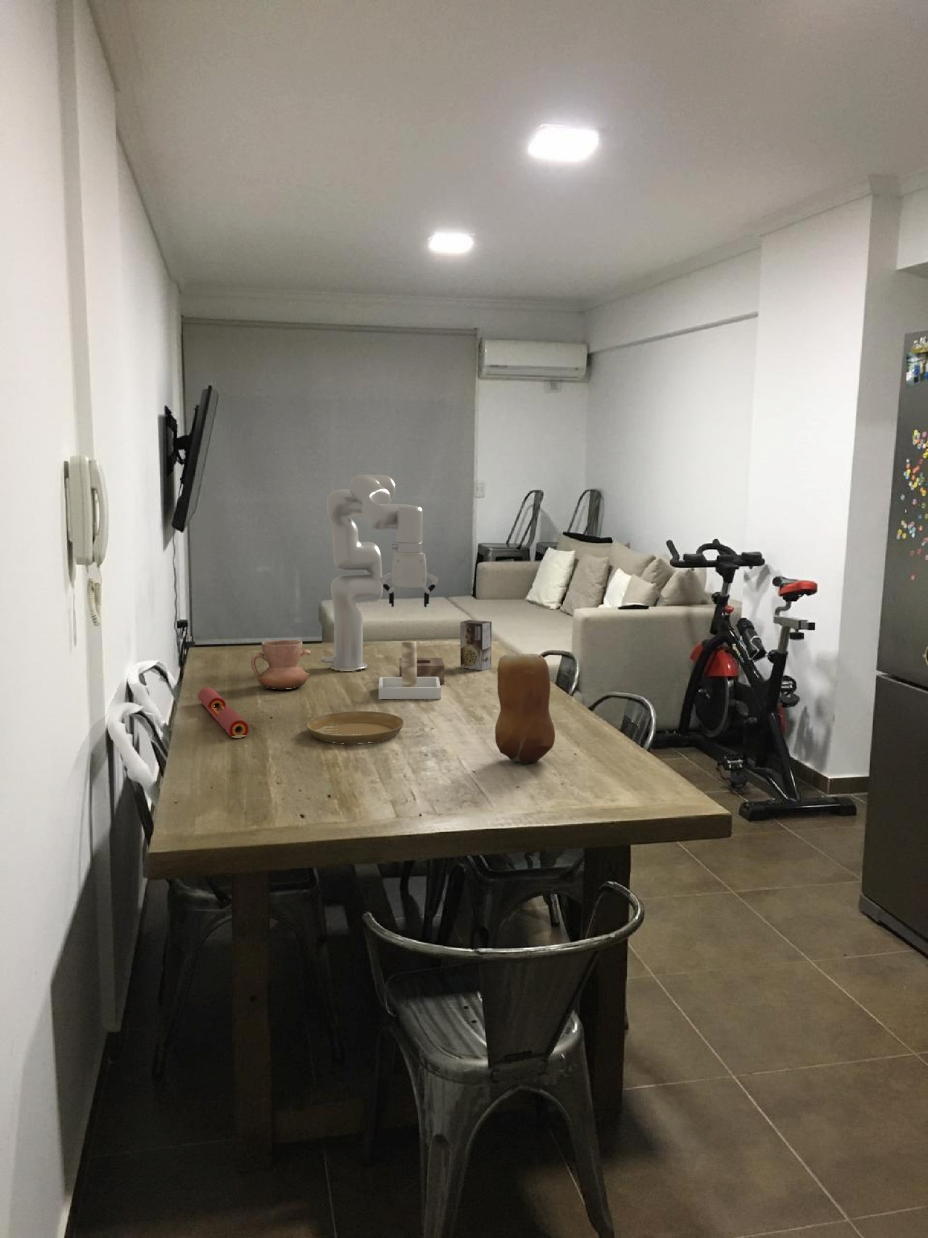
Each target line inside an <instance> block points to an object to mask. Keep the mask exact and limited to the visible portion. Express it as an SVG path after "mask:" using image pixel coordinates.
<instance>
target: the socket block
mask: <svg viewBox="0 0 928 1238" xmlns="http://www.w3.org/2000/svg"><path fill="white" fill-rule="evenodd" d="M398 661H399V664H398V665H399V666H398V667H399V670H398V671H399V672H398V673H399V675H398V677H402V657H399V659H398ZM417 677H439V681H440V684H444V685H445V663H444V659H443V657H417Z"/></svg>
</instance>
